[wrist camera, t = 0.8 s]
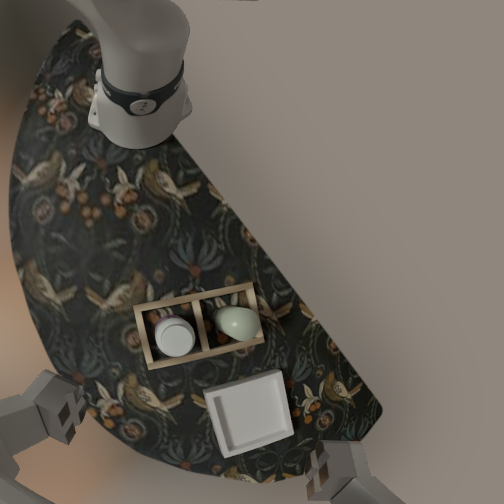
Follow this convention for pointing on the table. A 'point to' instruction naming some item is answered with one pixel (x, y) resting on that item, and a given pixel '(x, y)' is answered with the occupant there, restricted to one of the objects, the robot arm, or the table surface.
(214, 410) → the grey tray
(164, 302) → the light wood flat frame
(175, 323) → the pill bottle
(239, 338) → the sage vial
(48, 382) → the robot arm
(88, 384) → the table surface
